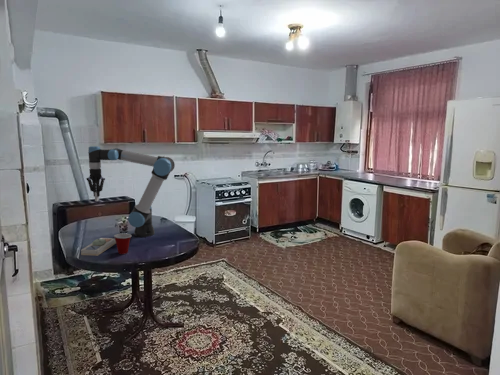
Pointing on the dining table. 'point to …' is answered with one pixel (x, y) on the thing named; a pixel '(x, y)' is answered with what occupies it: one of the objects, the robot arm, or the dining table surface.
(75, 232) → the dining table surface
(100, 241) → the tile two
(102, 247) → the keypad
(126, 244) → the plastic cup
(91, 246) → the tile three
